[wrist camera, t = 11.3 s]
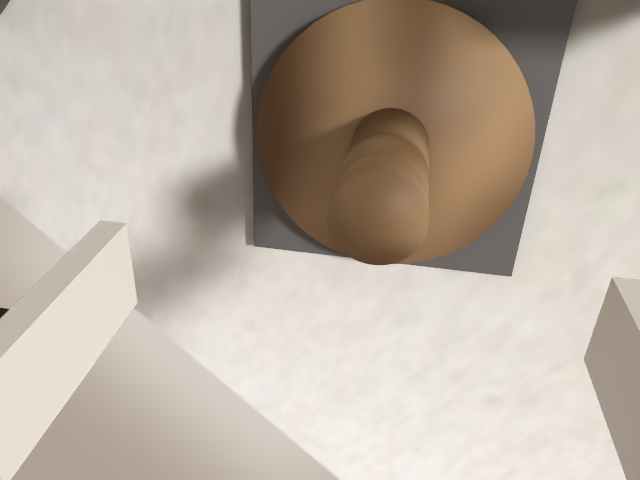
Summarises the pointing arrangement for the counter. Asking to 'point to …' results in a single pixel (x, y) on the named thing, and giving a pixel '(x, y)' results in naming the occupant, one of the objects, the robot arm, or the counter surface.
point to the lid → (396, 130)
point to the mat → (517, 36)
